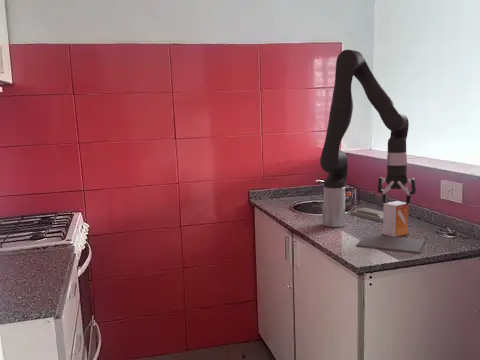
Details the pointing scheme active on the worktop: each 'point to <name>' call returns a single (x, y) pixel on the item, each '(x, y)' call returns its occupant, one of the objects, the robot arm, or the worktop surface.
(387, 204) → the small box
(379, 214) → the soap mold
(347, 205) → the supplement bottle
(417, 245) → the mat
